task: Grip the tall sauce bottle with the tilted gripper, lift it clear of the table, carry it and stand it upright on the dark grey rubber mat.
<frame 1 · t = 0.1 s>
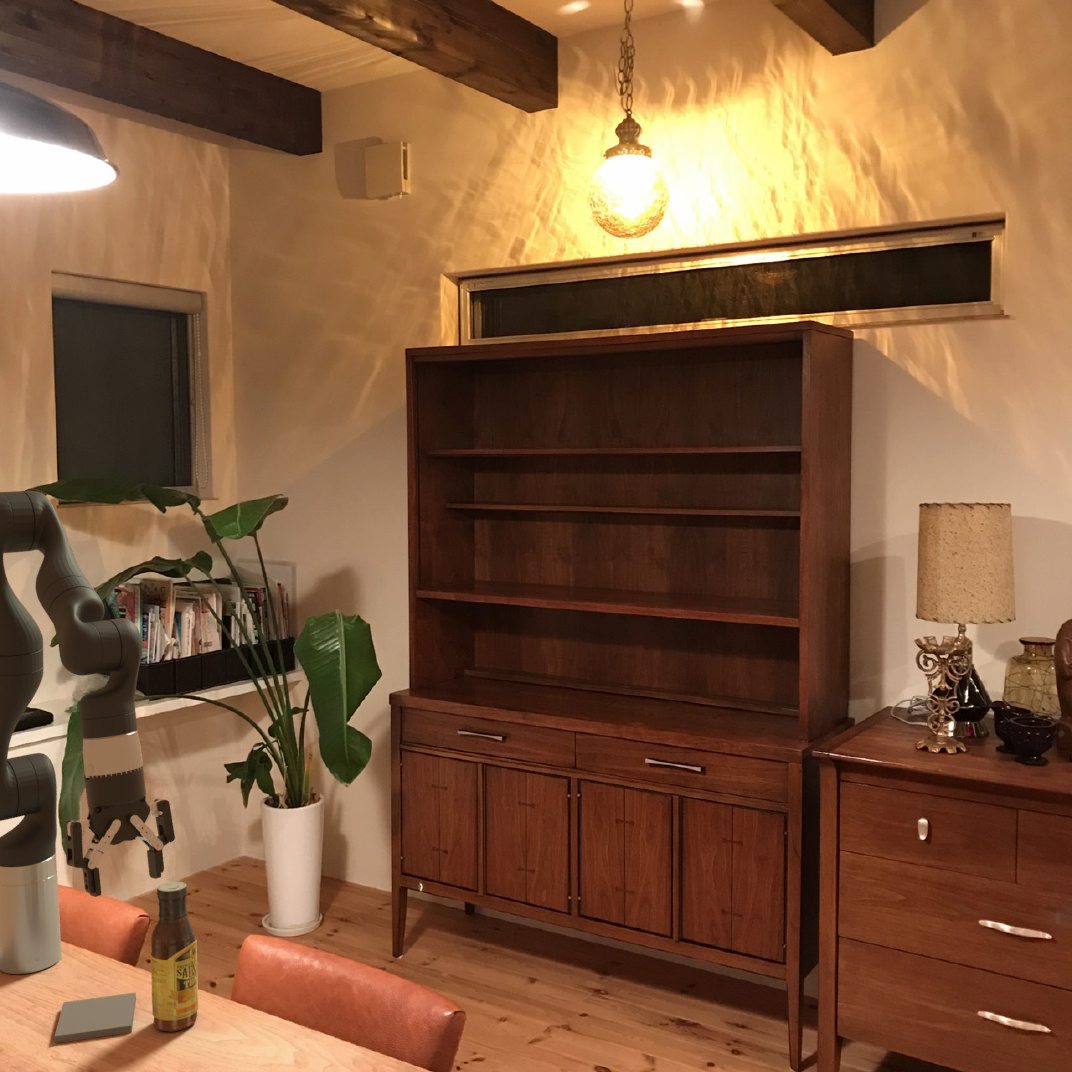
hand: (125, 886, 157), 22 cm above the table, tool pointing down, fingers open, 8 cm apart
rubber mat: (97, 1020, 166), on the table
sauce bottle: (176, 1023, 165), on the table
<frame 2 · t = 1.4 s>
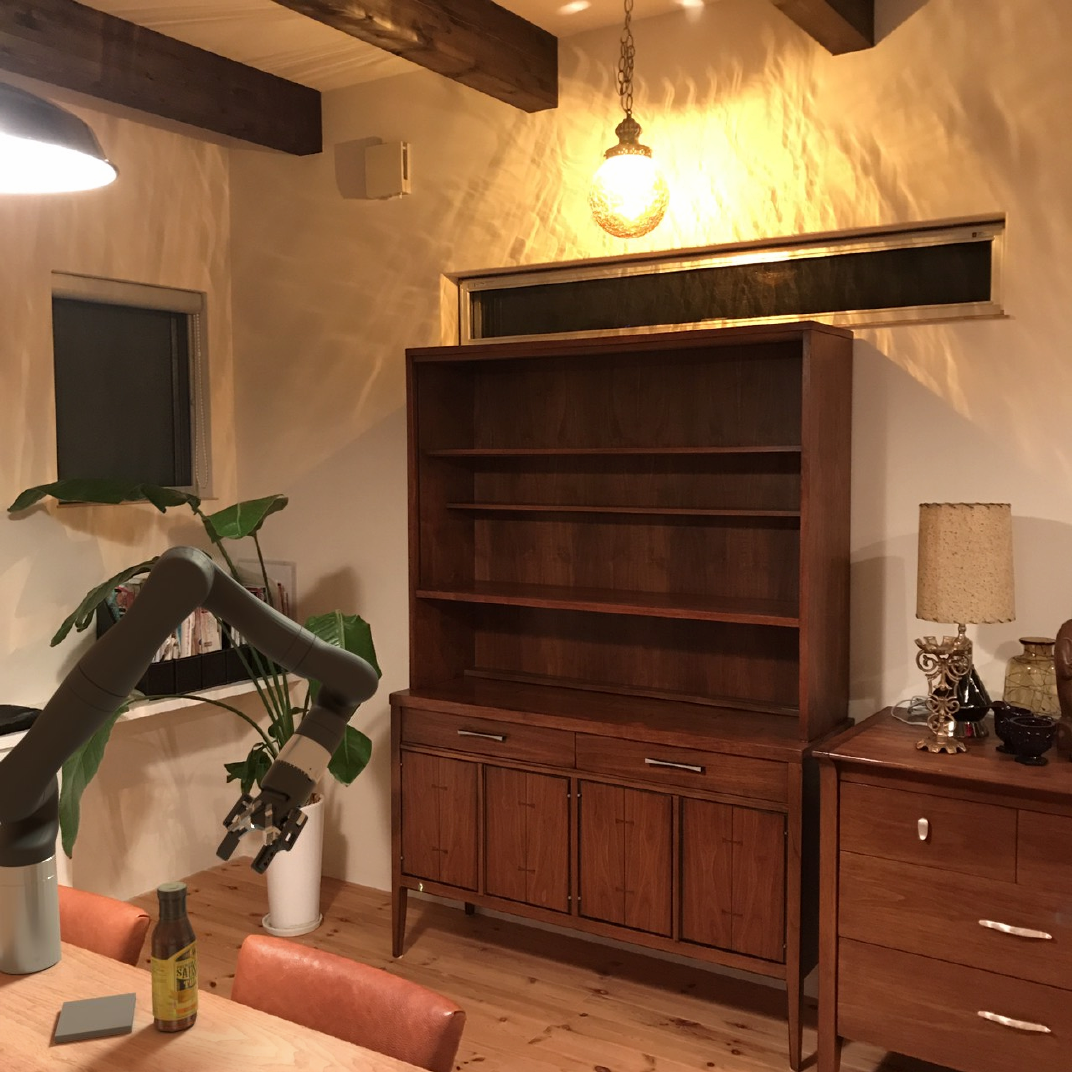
hand: (238, 864, 172), 20 cm above the table, tool tilted 45°, fingers open, 8 cm apart
nothing on the table moved.
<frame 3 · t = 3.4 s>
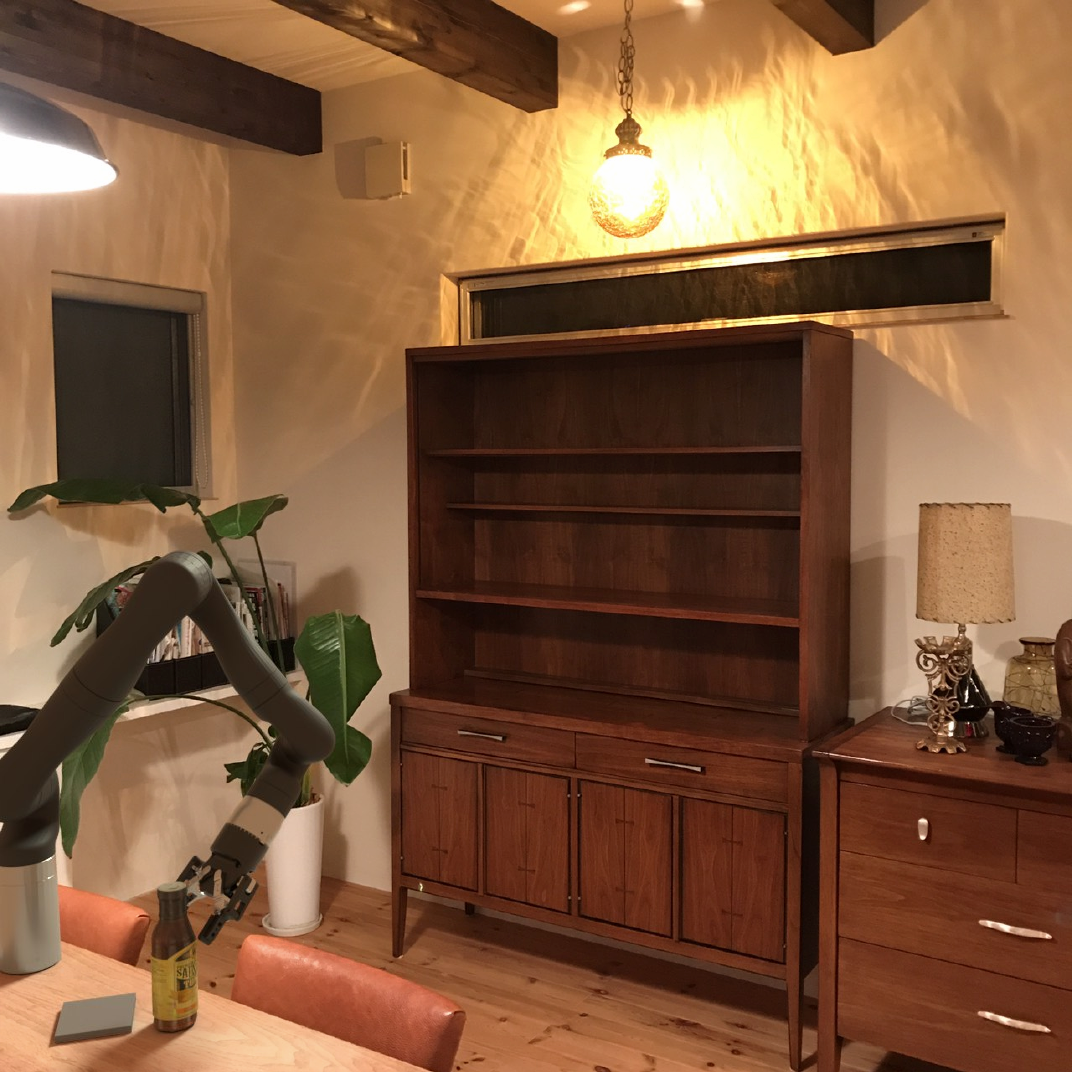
hand: (185, 934, 166), 12 cm above the table, tool tilted 45°, fingers open, 8 cm apart
nothing on the table moved.
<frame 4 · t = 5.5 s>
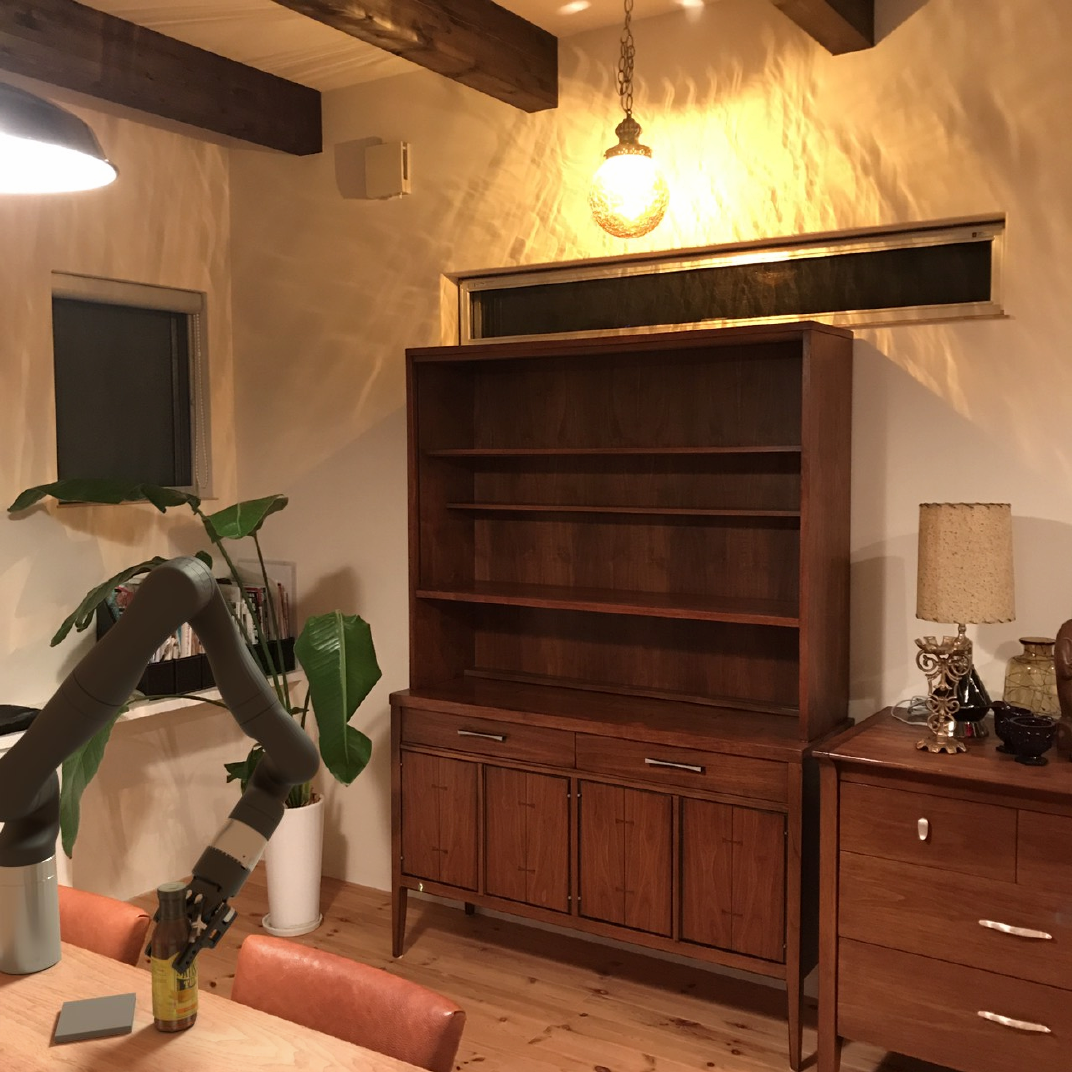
hand: (163, 963, 163), 9 cm above the table, tool tilted 45°, fingers closed on sauce bottle, 6 cm apart
sauce bottle: (176, 1023, 165), on the table, touching gripper
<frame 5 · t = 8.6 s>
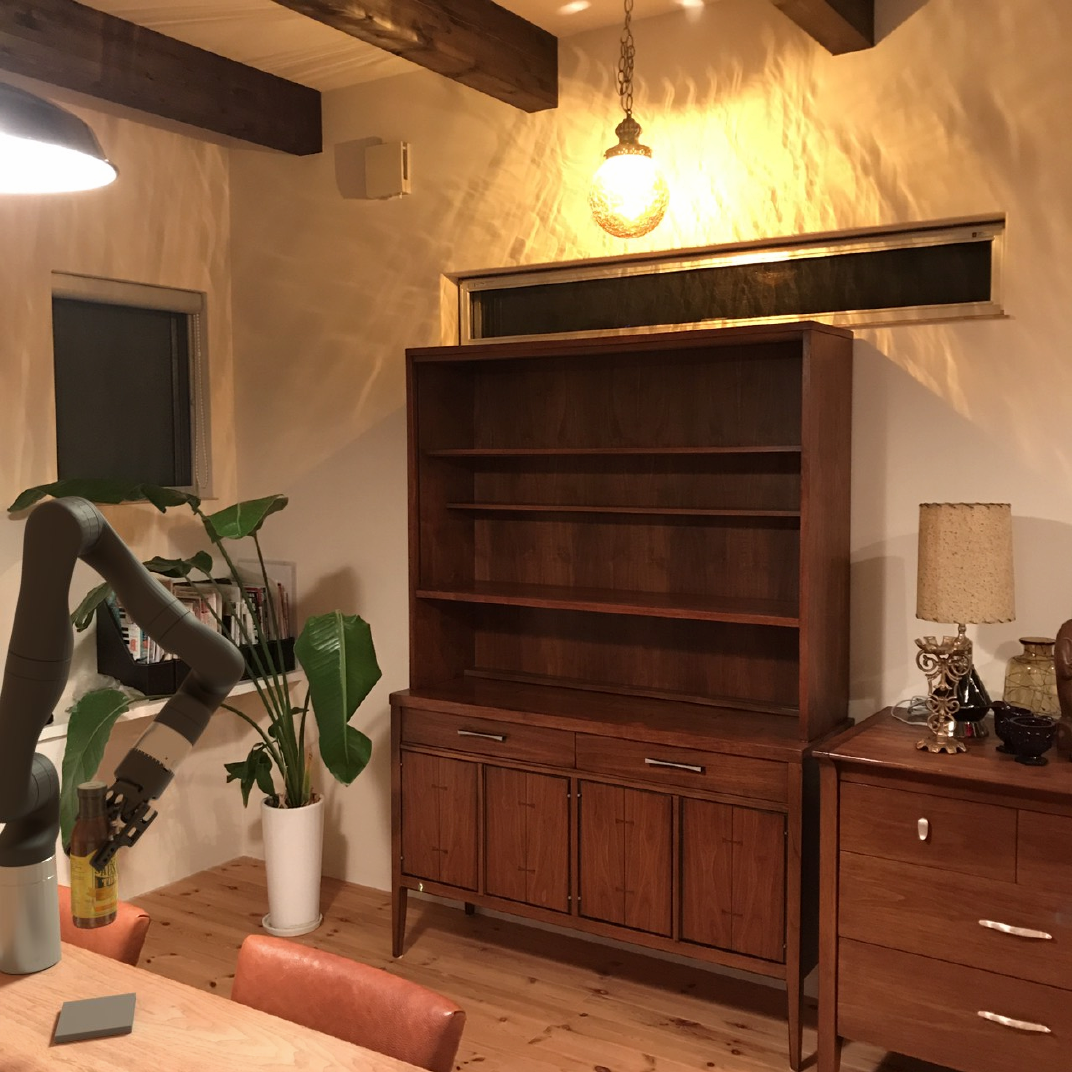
hand: (82, 861, 163), 24 cm above the table, tool tilted 45°, fingers closed on sauce bottle, 6 cm apart
sauce bottle: (95, 923, 165), point 14 cm above the table, touching gripper
when the fingers open (12 cm above the table, at t = 12.1 s): sauce bottle drops 1 cm, resting on rubber mat.
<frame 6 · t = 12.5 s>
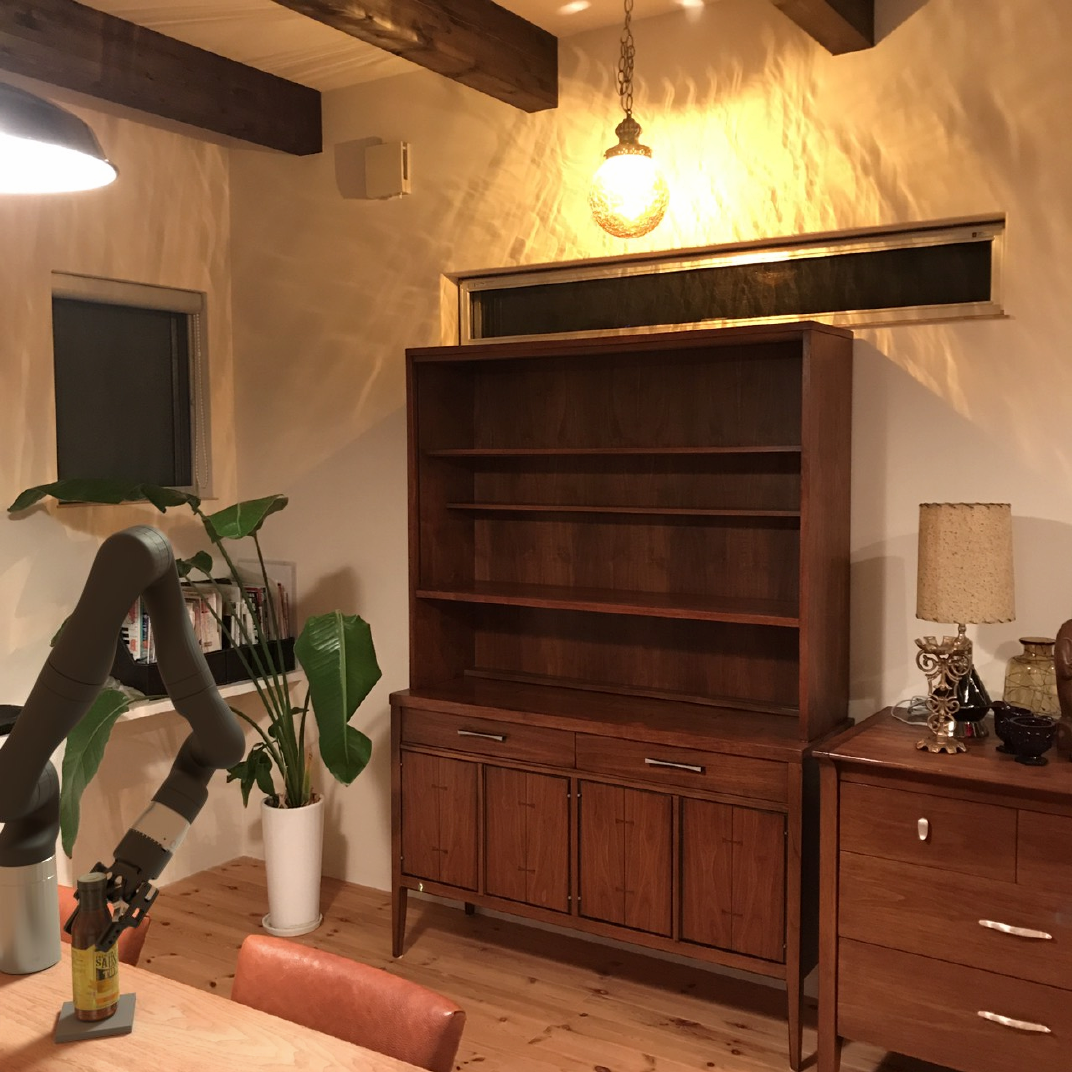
hand: (84, 941, 164), 12 cm above the table, tool tilted 45°, fingers open, 8 cm apart
sauce bottle: (97, 1013, 166), point 1 cm above the table, touching rubber mat
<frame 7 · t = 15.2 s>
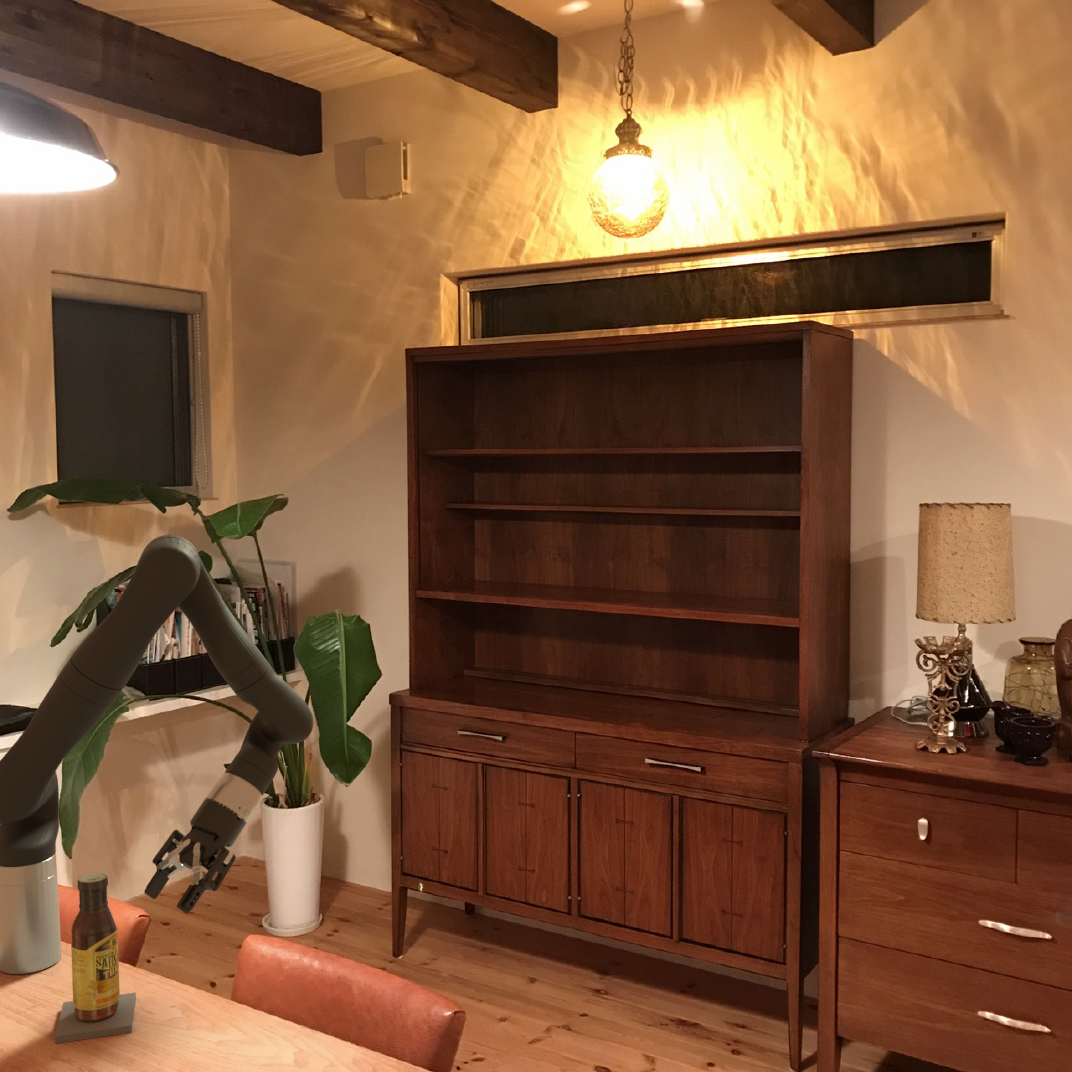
hand: (165, 903, 174), 13 cm above the table, tool tilted 45°, fingers open, 8 cm apart
nothing on the table moved.
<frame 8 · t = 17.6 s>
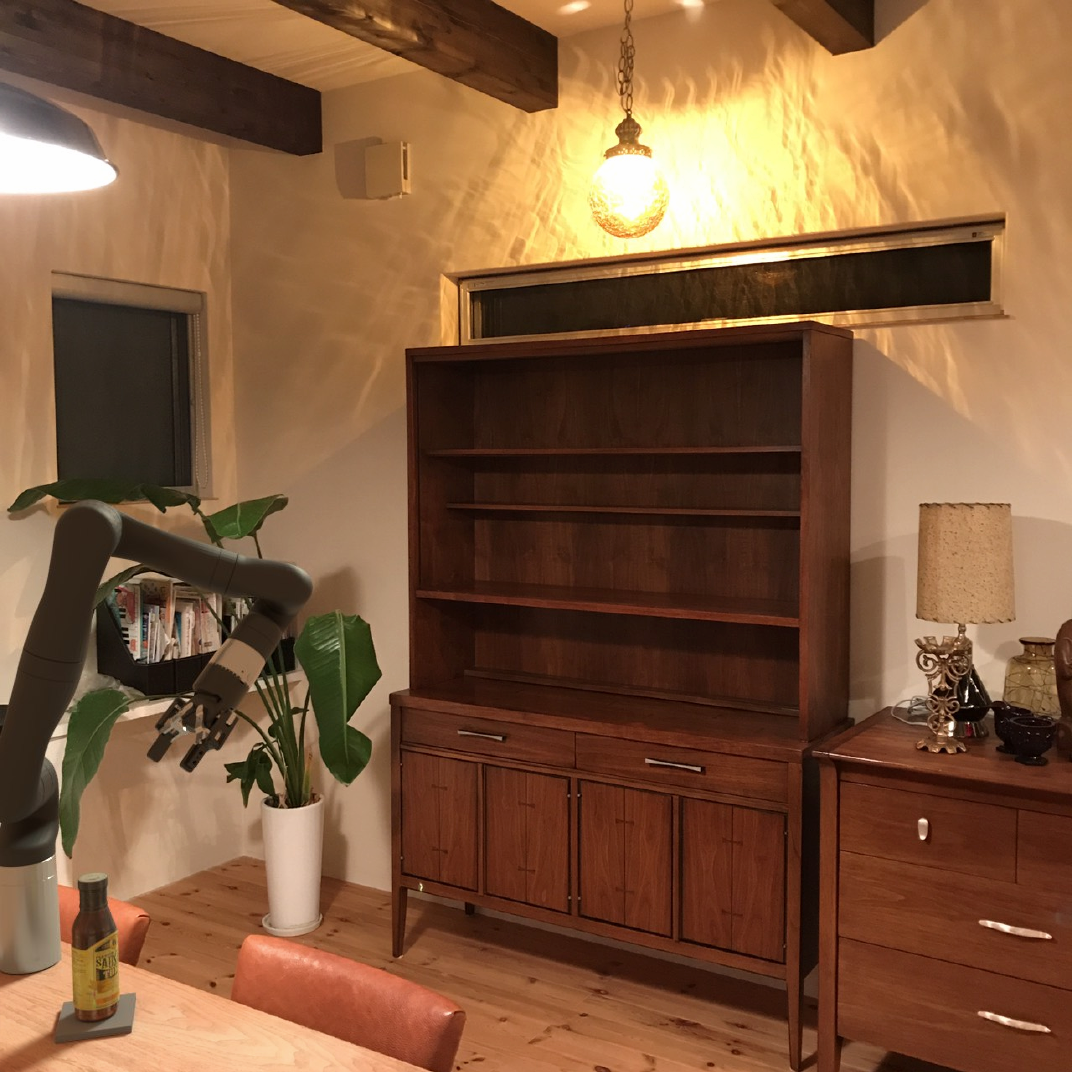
hand: (167, 764, 172), 35 cm above the table, tool tilted 45°, fingers open, 8 cm apart
nothing on the table moved.
at the end: sauce bottle inside the target area on the rubber mat (0.3 cm from its centre), point 0.8 cm above the rubber mat's base; sauce bottle tilted 0°; the gripper is holding nothing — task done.
